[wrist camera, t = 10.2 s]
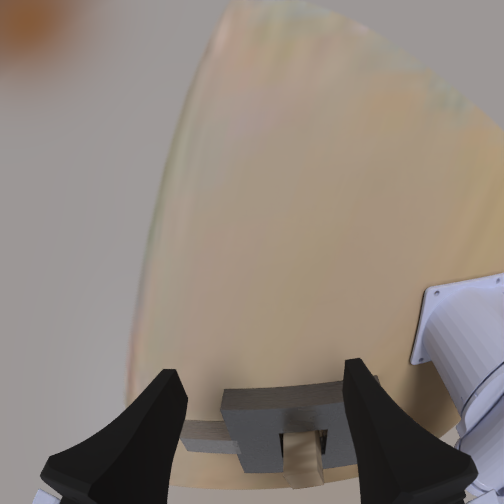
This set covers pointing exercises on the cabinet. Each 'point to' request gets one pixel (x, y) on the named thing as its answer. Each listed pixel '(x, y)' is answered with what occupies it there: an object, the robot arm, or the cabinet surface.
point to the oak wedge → (302, 459)
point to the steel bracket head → (275, 425)
